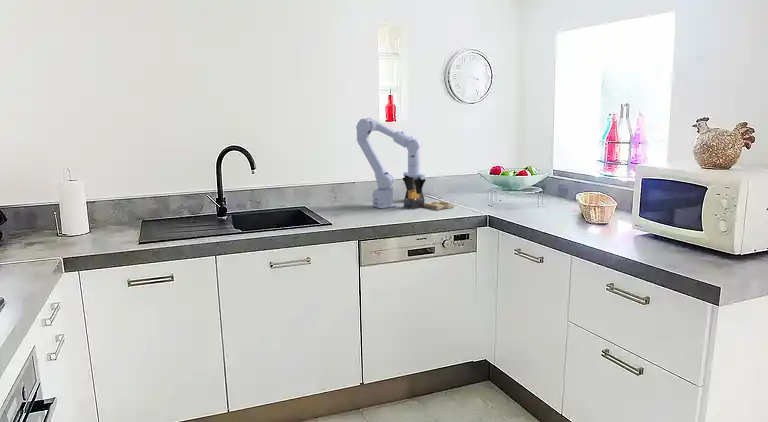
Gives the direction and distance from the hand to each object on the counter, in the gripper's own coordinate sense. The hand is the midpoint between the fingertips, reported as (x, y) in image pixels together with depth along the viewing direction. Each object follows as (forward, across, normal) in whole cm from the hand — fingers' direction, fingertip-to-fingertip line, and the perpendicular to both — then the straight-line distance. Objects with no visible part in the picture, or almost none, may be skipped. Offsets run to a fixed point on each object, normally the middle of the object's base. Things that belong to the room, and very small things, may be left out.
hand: (414, 192), depth 277 cm
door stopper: (+7, +14, -10) cm, 19 cm away
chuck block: (+7, 0, 0) cm, 7 cm away
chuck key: (+7, 0, 0) cm, 7 cm away
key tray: (+7, -8, -9) cm, 14 cm away
